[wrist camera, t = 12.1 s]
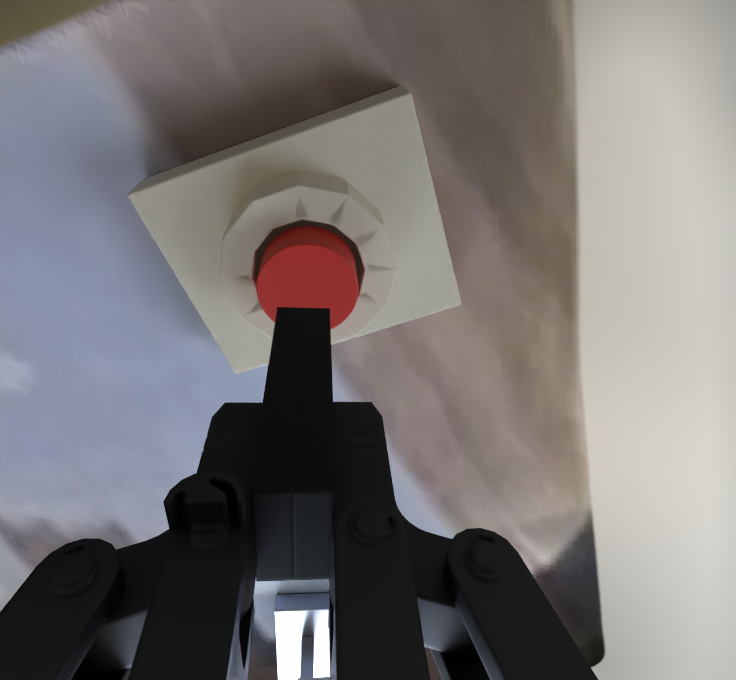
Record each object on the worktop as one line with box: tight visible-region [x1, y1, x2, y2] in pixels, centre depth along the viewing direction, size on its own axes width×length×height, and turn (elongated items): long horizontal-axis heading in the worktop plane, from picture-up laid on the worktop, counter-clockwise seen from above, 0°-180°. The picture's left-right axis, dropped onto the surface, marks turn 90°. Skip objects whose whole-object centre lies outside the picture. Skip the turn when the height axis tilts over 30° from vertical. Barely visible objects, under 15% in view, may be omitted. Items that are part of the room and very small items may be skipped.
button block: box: [128, 86, 461, 374], centre depth 20 cm, size 11×9×4 cm
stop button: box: [256, 226, 359, 329], centre depth 18 cm, size 4×4×2 cm
